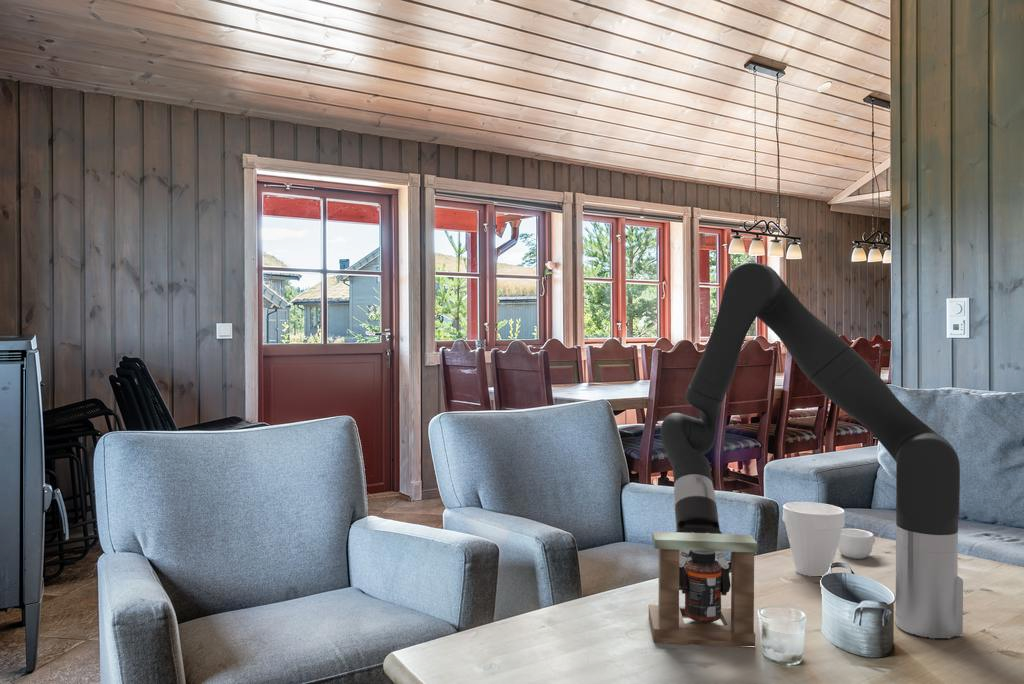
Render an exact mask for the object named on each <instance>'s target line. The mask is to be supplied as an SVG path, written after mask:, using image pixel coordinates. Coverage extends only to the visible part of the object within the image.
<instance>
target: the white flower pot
mask: <svg viewBox="0 0 1024 684" xmlns="http://www.w3.org/2000/svg"><path fill="white" fill-rule="evenodd" d="M782 510H783V511H782V521H783V522H784V525H785V528H786V535H787V537H788V541H789V542H788V543H789V546H790V551H791V555H792V561H793V563H794V570H795V572H796V573H798V574H800V575H802V574H803V575H802V576H806V575H808V576H807V577H811V576H822V575H824V574H825V573H826V572H828V570H829V567H830V564H831V563H833V564H834V561H835V556H836V554H837V550H838V542H839V539H840V535H841V531H842V529H843V528H844V527H845V526H846V524H845V523H846V521H845V519H846V518H845V510H844V509H843V508H842V507H839V506H836V505H833V504H827V503H823V502H822V503H821V502H814V501H813V502H812V501H794V502H787V503H784V504H783V505H782Z"/></svg>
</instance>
